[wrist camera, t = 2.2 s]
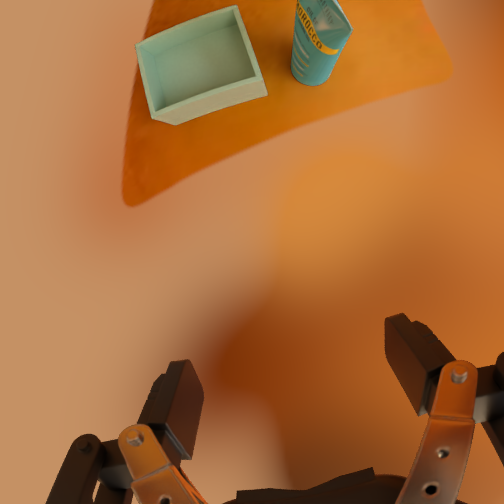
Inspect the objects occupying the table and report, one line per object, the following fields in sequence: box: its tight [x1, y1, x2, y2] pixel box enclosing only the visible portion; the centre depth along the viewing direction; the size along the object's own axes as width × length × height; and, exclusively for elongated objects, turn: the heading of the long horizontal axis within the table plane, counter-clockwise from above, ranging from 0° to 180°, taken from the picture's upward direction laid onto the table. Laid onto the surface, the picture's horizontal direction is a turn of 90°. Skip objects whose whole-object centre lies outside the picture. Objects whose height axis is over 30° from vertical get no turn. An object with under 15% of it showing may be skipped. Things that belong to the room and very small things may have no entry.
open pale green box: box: [135, 5, 268, 125], centre depth 28 cm, size 10×12×7 cm
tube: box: [291, 0, 353, 86], centre depth 21 cm, size 7×5×19 cm, turn 26°
